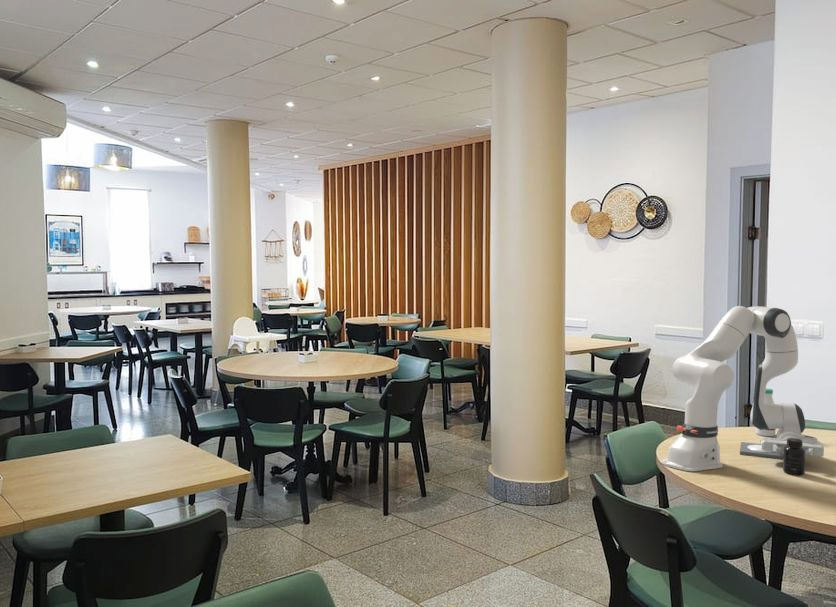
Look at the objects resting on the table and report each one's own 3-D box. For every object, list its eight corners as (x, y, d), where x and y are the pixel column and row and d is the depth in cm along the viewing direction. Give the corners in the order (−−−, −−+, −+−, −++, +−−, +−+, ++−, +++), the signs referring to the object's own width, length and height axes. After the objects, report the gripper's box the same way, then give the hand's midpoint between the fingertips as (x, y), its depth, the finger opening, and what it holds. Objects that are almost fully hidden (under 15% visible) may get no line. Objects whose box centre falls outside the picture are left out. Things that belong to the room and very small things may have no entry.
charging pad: (786, 459, 263) (786, 456, 262) (739, 454, 270) (739, 450, 270) (785, 449, 277) (785, 446, 277) (740, 444, 284) (741, 441, 284)
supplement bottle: (783, 469, 250) (784, 436, 250) (805, 472, 247) (806, 438, 246) (782, 474, 244) (783, 440, 244) (804, 477, 241) (805, 443, 240)
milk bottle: (757, 436, 299) (759, 390, 298) (753, 432, 306) (755, 387, 305) (777, 437, 297) (779, 391, 296) (772, 433, 304) (774, 388, 303)
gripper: (760, 431, 266) (761, 440, 253) (821, 438, 257) (825, 446, 245) (759, 448, 266) (760, 457, 253) (820, 454, 257) (825, 464, 245)
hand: (793, 452), depth 249 cm, fingers open, 8 cm apart
